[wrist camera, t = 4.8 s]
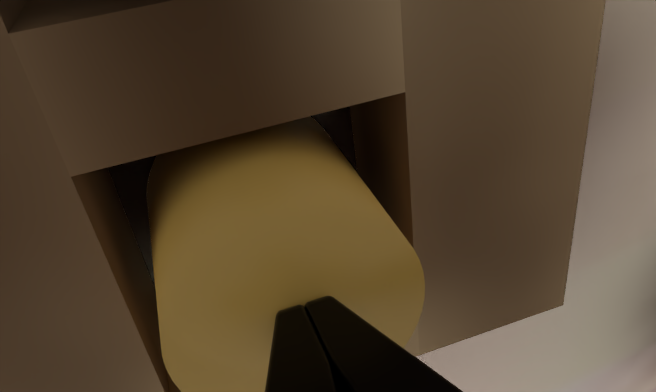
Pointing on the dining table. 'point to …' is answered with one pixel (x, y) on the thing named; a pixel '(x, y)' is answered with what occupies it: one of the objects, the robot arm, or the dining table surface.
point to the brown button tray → (271, 109)
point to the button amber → (267, 250)
